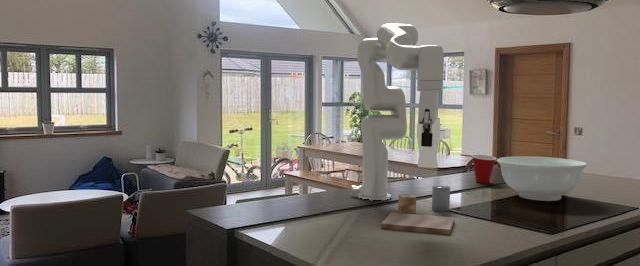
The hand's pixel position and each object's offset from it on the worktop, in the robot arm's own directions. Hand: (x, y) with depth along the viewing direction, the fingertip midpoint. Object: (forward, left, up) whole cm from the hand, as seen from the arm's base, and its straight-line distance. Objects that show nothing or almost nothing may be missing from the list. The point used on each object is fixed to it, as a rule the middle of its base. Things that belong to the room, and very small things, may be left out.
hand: (427, 144), depth 171 cm
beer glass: (0, 0, -7) cm, 7 cm away
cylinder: (+2, +23, -25) cm, 34 cm away
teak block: (-8, +13, -25) cm, 29 cm away
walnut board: (-2, -2, -25) cm, 25 cm away
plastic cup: (+14, +88, -25) cm, 92 cm away
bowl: (+36, +60, -25) cm, 74 cm away
